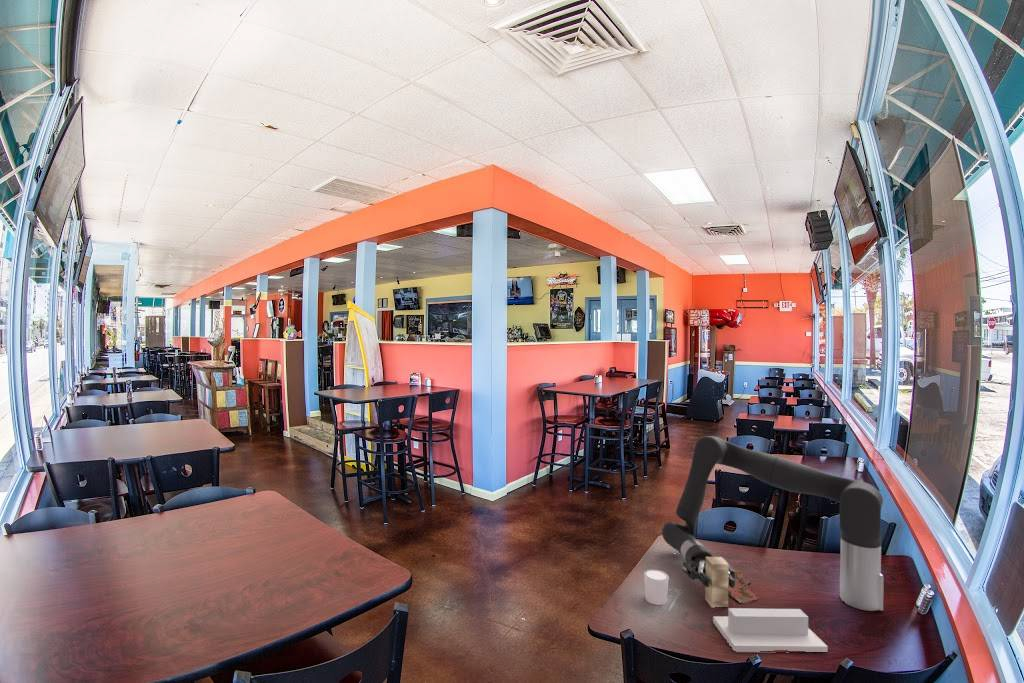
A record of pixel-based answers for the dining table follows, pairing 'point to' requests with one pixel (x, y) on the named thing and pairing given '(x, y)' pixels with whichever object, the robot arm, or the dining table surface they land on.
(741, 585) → the wooden fragment
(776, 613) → the ridge stand
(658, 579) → the white cylinder
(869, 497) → the robot arm
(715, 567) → the maple block
